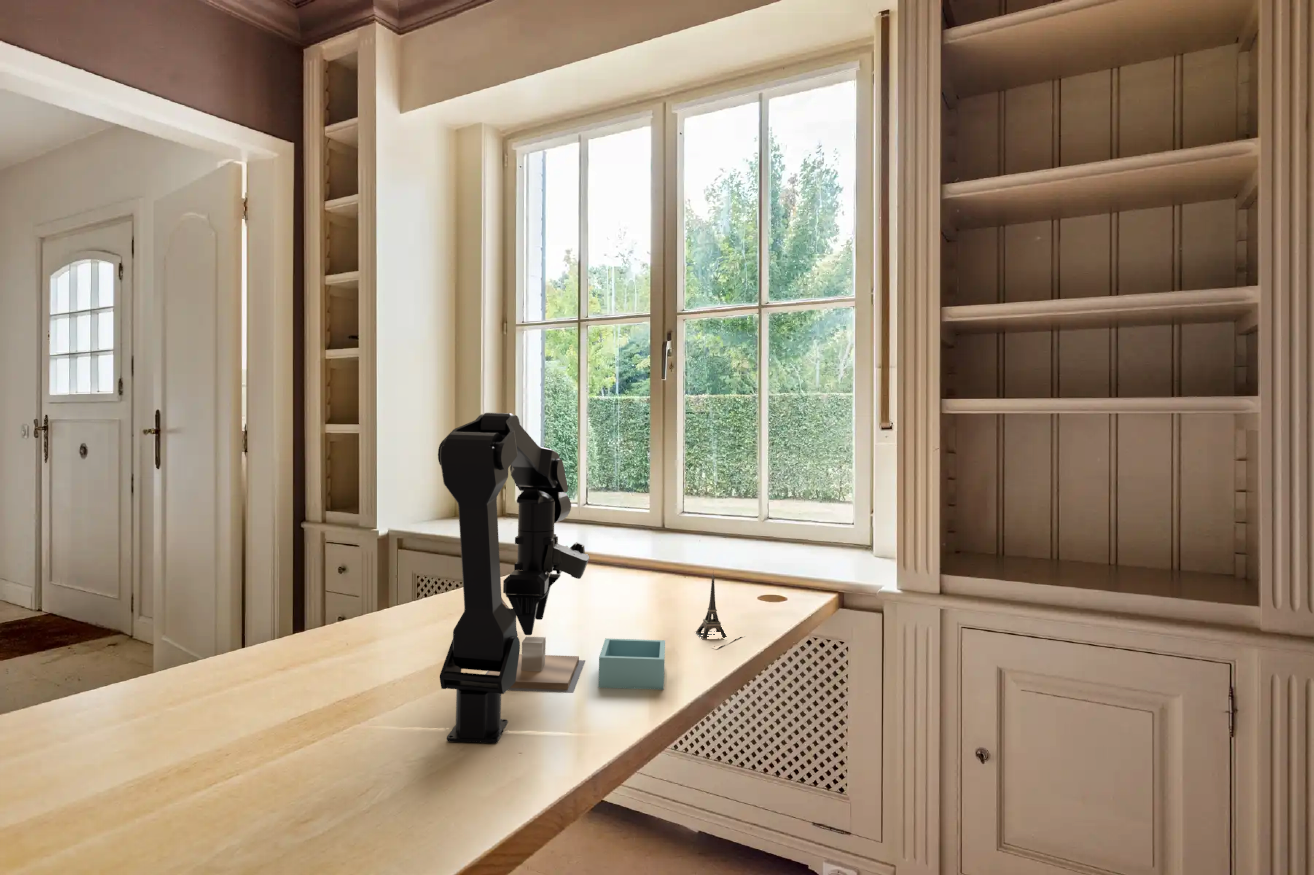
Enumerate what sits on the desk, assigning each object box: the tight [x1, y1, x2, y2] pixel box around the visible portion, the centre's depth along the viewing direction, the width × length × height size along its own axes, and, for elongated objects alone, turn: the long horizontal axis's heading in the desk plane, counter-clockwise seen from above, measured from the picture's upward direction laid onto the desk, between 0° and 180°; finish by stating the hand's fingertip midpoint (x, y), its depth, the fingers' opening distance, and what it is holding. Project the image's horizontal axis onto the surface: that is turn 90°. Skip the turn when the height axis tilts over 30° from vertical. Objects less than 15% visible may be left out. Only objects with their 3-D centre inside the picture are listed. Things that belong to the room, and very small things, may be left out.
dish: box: [597, 638, 666, 691], centre depth 118 cm, size 10×10×5 cm
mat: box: [485, 659, 586, 694], centre depth 118 cm, size 15×15×1 cm
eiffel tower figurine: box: [695, 570, 727, 641], centre depth 143 cm, size 15×10×13 cm
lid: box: [487, 636, 580, 690], centre depth 118 cm, size 13×13×6 cm
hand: (533, 626), depth 118 cm, fingers open, 9 cm apart
